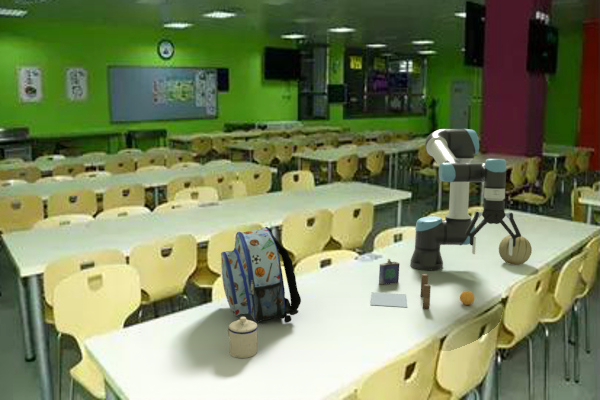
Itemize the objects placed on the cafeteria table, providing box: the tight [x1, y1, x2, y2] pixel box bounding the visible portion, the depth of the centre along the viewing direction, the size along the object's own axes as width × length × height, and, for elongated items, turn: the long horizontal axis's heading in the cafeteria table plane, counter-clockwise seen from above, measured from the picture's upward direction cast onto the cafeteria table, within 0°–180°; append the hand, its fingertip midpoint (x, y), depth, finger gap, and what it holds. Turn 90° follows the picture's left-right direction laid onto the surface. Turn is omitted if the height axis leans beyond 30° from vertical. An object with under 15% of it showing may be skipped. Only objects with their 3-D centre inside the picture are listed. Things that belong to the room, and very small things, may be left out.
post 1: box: [420, 273, 429, 298], centre depth 227 cm, size 3×3×9 cm
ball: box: [459, 290, 476, 306], centre depth 219 cm, size 6×6×6 cm
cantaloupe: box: [498, 234, 532, 266], centre depth 270 cm, size 15×15×15 cm
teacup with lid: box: [227, 316, 258, 359], centre depth 178 cm, size 12×9×12 cm
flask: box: [378, 258, 400, 286], centre depth 242 cm, size 9×3×11 cm, turn 109°
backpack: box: [220, 226, 302, 324], centre depth 208 cm, size 33×25×31 cm
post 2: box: [422, 284, 431, 310], centre depth 215 cm, size 3×3×9 cm
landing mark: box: [370, 291, 408, 308], centre depth 224 cm, size 14×14×1 cm
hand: (491, 254), depth 216 cm, fingers open, 13 cm apart
